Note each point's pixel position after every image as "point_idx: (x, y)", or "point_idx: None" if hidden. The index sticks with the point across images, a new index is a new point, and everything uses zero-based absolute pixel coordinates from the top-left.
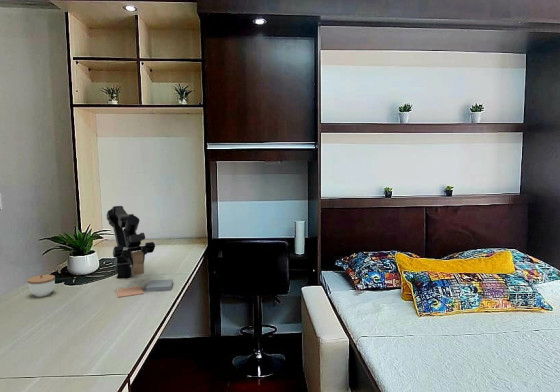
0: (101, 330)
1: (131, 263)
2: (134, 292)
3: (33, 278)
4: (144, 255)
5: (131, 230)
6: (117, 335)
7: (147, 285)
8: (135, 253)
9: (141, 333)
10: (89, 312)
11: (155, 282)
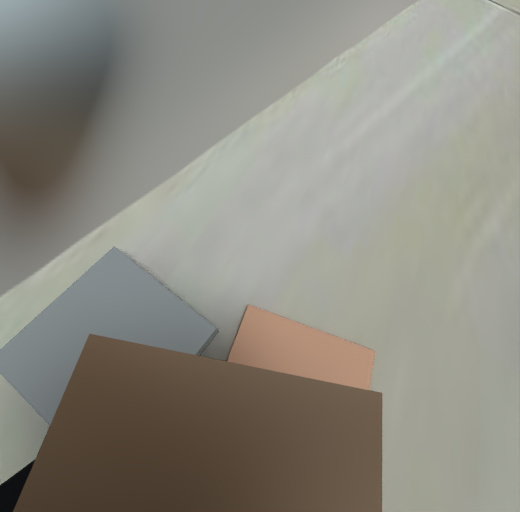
0: (474, 114)
1: None
2: (280, 350)
3: None
4: (24, 474)
5: None
6: (440, 72)
7: None
8: (310, 413)
9: (388, 49)
10: (509, 260)
11: None
